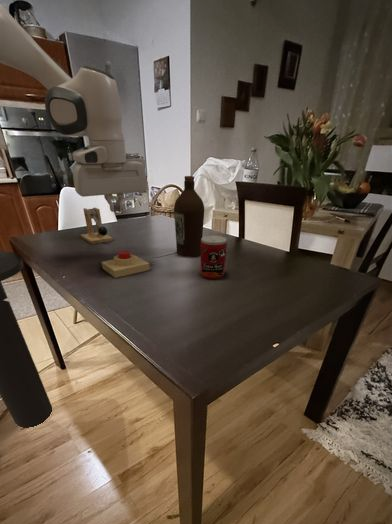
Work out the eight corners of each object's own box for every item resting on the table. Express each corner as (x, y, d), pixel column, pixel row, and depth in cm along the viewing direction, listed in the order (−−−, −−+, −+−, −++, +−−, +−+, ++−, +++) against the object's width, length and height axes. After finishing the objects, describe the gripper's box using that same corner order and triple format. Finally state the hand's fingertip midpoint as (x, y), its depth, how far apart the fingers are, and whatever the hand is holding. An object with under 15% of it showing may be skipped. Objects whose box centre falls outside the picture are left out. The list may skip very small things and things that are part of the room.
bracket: (112, 240, 119) (107, 210, 112) (91, 244, 114) (85, 212, 108) (101, 234, 127) (96, 205, 120) (81, 237, 122) (75, 207, 115)
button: (121, 260, 88) (121, 255, 87) (116, 257, 90) (116, 252, 89) (132, 258, 90) (131, 253, 89) (127, 255, 92) (126, 250, 91)
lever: (108, 236, 114) (109, 230, 111) (100, 238, 112) (100, 231, 110) (94, 214, 117) (94, 207, 115) (86, 215, 116) (86, 208, 113)
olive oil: (194, 247, 113) (195, 174, 98) (208, 255, 105) (211, 177, 91) (170, 251, 109) (167, 175, 94) (182, 259, 101) (181, 178, 86)
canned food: (199, 279, 86) (200, 242, 80) (200, 269, 93) (201, 234, 86) (224, 280, 86) (227, 243, 80) (223, 270, 93) (226, 235, 86)
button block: (115, 277, 86) (113, 265, 84) (102, 268, 92) (100, 256, 90) (149, 269, 92) (148, 257, 90) (135, 261, 98) (134, 249, 96)
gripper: (139, 152, 81) (143, 205, 90) (65, 153, 71) (78, 212, 80) (149, 154, 77) (152, 209, 86) (73, 155, 67) (85, 217, 76)
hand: (116, 210), depth 83 cm, fingers closed
